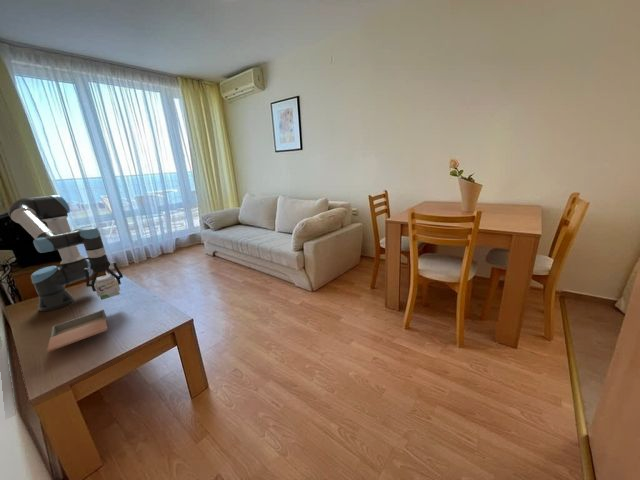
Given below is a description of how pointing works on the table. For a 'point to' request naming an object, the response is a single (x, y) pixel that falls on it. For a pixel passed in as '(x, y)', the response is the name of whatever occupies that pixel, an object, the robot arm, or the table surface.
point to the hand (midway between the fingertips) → (109, 292)
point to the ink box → (107, 286)
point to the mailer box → (78, 323)
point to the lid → (76, 334)
